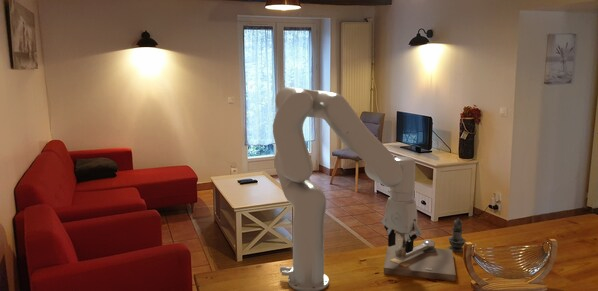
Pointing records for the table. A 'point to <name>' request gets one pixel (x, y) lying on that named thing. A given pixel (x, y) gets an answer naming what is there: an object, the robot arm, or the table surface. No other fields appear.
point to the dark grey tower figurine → (457, 237)
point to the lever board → (422, 264)
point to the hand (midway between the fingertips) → (400, 248)
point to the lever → (401, 242)
